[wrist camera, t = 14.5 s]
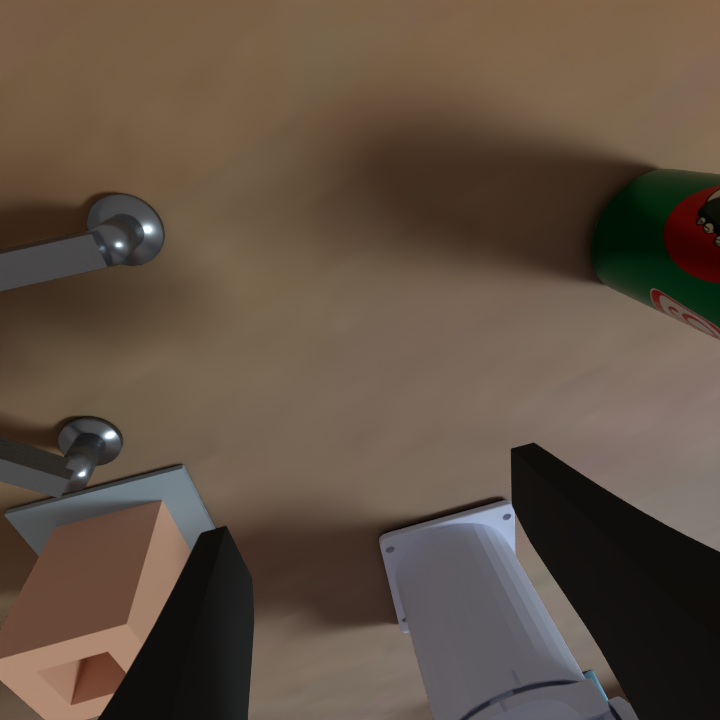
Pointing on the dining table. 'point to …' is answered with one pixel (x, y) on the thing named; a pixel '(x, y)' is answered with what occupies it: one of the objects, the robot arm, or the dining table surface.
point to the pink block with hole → (90, 609)
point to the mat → (116, 506)
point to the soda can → (664, 245)
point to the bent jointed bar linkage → (56, 260)
